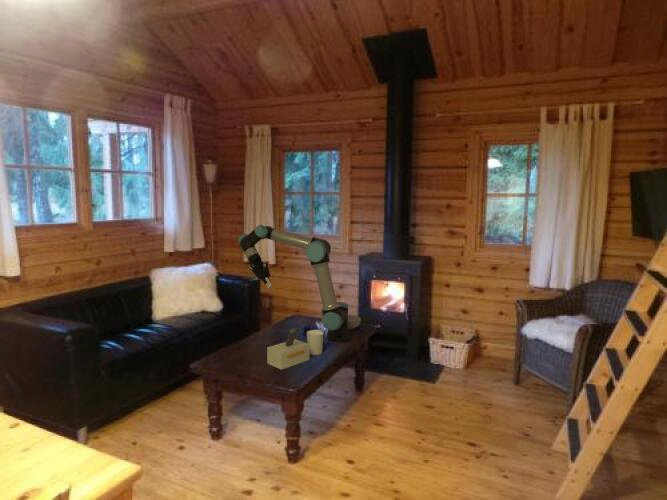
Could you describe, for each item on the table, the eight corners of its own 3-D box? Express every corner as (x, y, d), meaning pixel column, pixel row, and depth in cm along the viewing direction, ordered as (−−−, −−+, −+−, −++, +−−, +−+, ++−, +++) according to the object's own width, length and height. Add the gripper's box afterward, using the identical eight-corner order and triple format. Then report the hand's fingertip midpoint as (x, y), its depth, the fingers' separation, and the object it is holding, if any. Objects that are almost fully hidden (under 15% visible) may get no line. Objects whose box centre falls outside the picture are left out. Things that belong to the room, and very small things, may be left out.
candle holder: (317, 356, 261) (317, 336, 260) (303, 353, 266) (303, 333, 265) (326, 351, 270) (326, 331, 268) (312, 348, 275) (312, 328, 273)
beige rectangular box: (295, 354, 265) (295, 338, 264) (309, 359, 257) (309, 344, 255) (267, 363, 251) (267, 347, 250) (281, 369, 242) (281, 353, 241)
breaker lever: (290, 342, 255) (296, 326, 250) (293, 345, 253) (299, 329, 249) (283, 344, 251) (289, 328, 246) (286, 347, 250) (292, 331, 245)
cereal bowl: (364, 326, 317) (365, 316, 316) (353, 333, 303) (353, 322, 302) (343, 322, 326) (343, 313, 325) (331, 329, 312) (331, 318, 311)
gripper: (259, 259, 288) (276, 289, 279) (241, 261, 279) (258, 293, 270) (264, 251, 284) (281, 282, 275) (246, 253, 275) (264, 285, 265)
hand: (270, 287), depth 272 cm, fingers closed
